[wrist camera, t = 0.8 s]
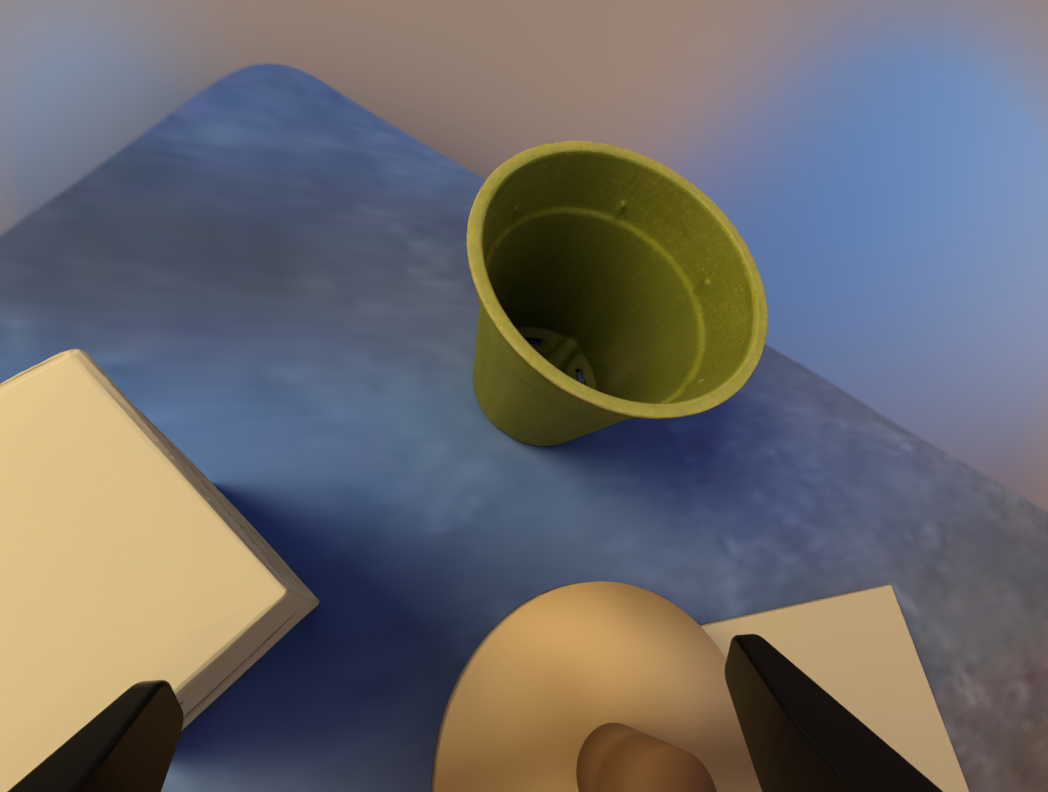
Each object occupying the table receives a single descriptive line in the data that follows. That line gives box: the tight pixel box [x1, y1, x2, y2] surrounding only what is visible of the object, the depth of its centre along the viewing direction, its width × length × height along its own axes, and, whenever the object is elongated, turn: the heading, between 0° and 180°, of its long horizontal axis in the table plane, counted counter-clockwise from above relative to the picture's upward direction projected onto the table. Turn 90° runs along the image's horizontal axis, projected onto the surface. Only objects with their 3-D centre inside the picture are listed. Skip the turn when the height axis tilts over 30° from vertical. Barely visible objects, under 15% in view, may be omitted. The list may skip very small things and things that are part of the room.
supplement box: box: [0, 349, 319, 792], centre depth 14 cm, size 7×7×13 cm
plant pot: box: [467, 141, 768, 446], centre depth 23 cm, size 12×12×11 cm
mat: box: [700, 585, 969, 792], centre depth 25 cm, size 15×15×1 cm
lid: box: [431, 581, 762, 792], centre depth 17 cm, size 13×13×5 cm
